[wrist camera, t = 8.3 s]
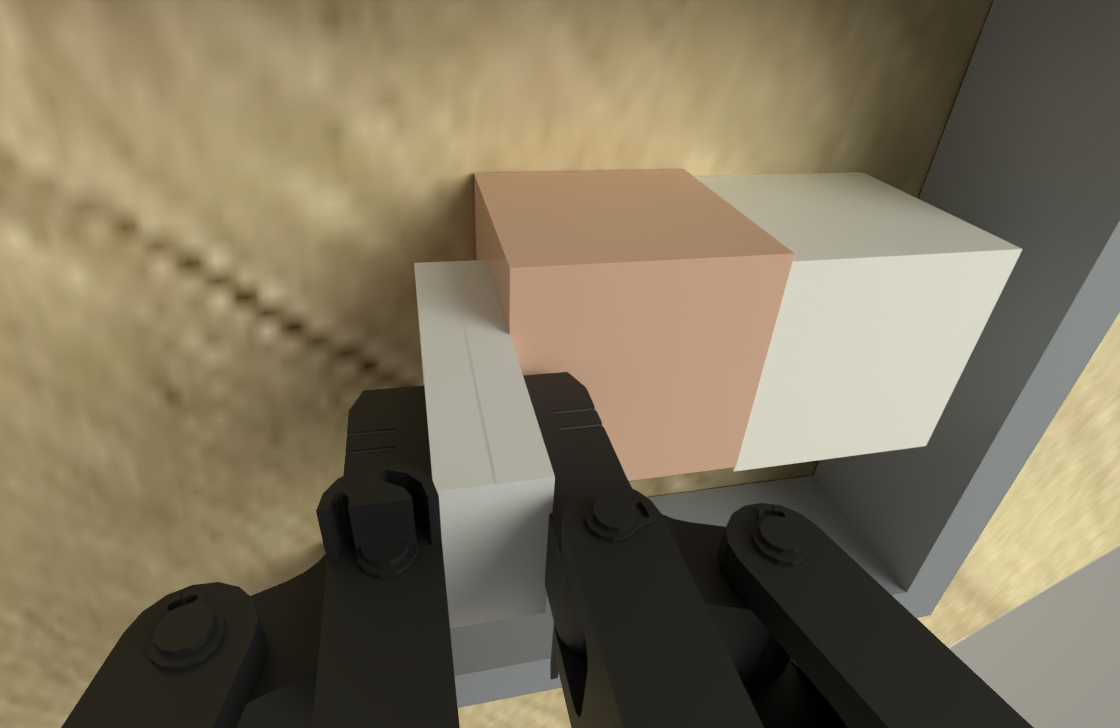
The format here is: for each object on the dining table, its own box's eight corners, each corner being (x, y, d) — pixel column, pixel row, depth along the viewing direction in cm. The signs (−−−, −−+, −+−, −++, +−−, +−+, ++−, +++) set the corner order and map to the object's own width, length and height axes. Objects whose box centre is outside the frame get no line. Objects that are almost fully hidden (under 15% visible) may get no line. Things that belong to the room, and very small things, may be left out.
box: (136, -363, 9) (-85, -631, 5) (1134, -207, 13) (1487, -278, 9) (337, 571, 20) (325, 733, 16) (837, 500, 24) (930, 615, 20)
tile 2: (682, 175, 15) (791, 261, 11) (862, 172, 16) (1023, 249, 12) (654, 351, 18) (734, 471, 14) (810, 338, 19) (926, 445, 15)
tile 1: (474, 173, 14) (509, 268, 10) (683, 169, 15) (794, 253, 11) (479, 361, 17) (508, 496, 12) (656, 347, 18) (735, 467, 14)
